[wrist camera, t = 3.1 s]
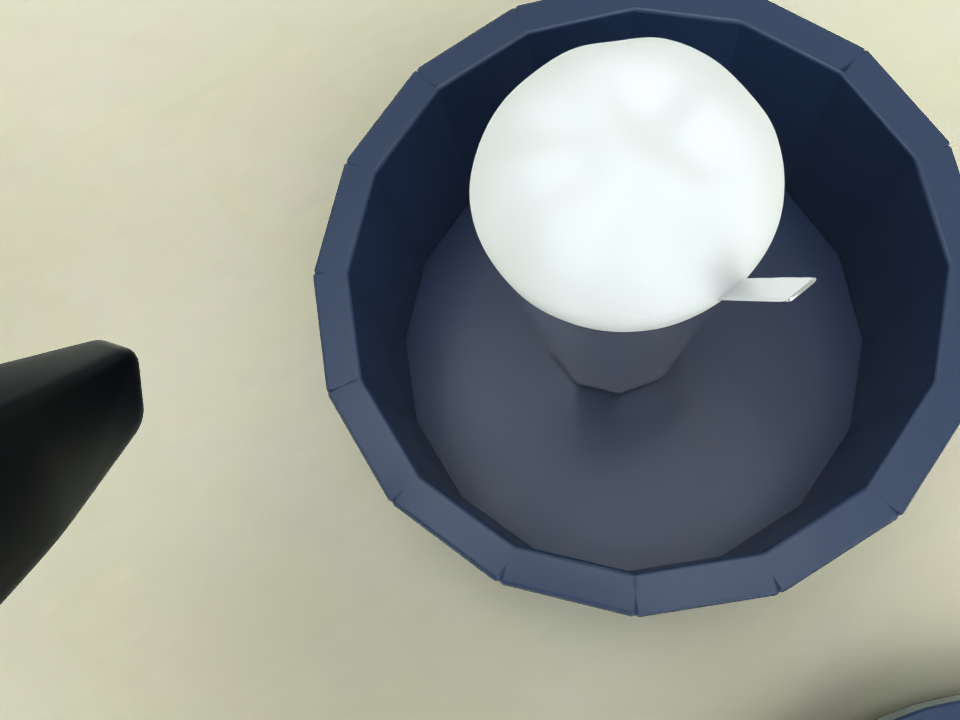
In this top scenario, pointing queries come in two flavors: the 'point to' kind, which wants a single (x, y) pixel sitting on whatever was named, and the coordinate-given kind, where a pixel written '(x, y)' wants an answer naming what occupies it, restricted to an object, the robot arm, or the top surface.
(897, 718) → the tin lid
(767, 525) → the tin
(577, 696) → the top surface
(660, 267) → the milkshake
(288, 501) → the top surface
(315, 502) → the top surface
